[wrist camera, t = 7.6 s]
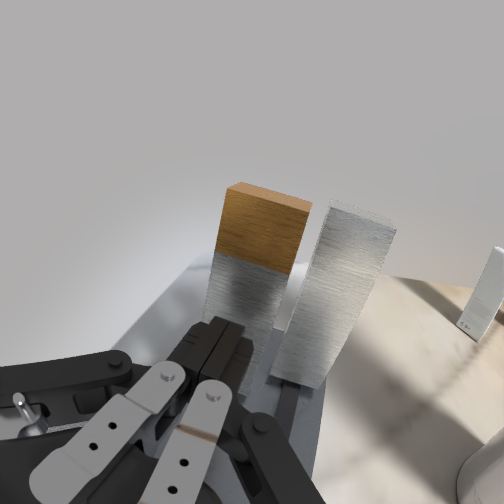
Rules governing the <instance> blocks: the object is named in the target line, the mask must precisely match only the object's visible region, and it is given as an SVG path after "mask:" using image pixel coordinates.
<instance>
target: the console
mask: <svg viewBox="0 0 504 504" xmlns="http://www.w3.org/2000/svg"><path fill="white" fill-rule="evenodd" d="M283 335H284V331H281V330H278V329H275V328H272V329H271V332H270V335H269V338H268V341H267V344H266V346H265V349H264V352H263V355H262V357H261V360H260V363H259V366H258V368H257V371H256V374H255V376H254V379H253V382H252V384H251V387H250V389H249V392H248V395H247V396H245V395H242V394H240V393H237V399H238V401H239V403H240V404H241V405H242V406H243V407H244V408H245V409H247V410H248V411H250V412H251V413H254V412H263V413H266V414H269V415H271V416H272V417H273V418H275V419H276V421H277V422H278V424H279V425H280V427H281V429H282V431H283V433H284V434H285V436H286V438H287V440H288V441H289V443H290V445H291V447H292V448H293V450H294V452H295V454H296V455H297V457H298V459H299V461H300V462H301V464H302V466H303V467H304V469H305V471H306V472H307V474H308V476H309V477H310V479H311V477H312V472H313V467H314V461H315V456H316V450H317V444H318V437H319V431H320V424H321V417H322V409H323V401H324V393H325V384H326V377H325V379H324V381H323V382H322V384H321V386H320V387H319V389H315V388H311V387H308V386H304V385H301V384H297V383H294V382H291V381H288V380H284V379H281V378H278V377H275V376H272V375H269V374H270V371H271V368H272V364H273V361H274V358H275V355H276V353H277V350H278V348H279V345H280V343H281V340H282V338H283ZM188 405H189V403H186V405H185V407H184V409H183V410H182V413H181V416H180V417H179V419H178V420H177V422H176V423H175V424H174V426H173V427H172V428H171V430H170V431H169V432H168V434H167V435H166V436H165V438H164V439H163V441H162V442H161V443H160V445H159V446H158V448H157V451H156V454H155V456H154V458H157V459H160V457H161V455H162V453H163V451H164V449H165V447H166V445H167V443H168V440H169V438H170V436H171V434H172V432H173V430H174V428H175V427H176V426H177V425H179V424H180V422H181V420H182V418H183V416H184V413H185V411H186V409H187V407H188ZM204 482H205V483H206V484H208V485H209V486H210V487H211V488H212V489H213V490H214V491H215V492H216V494H217V495H218V496H219V498H220V500H221V502H222V504H250V502H249V500H248V498H247V496H246V494H245V492H244V490H243V487H242V485H241V483H240V481H239V479H238V477H237V474H236V472H235V470H234V468H233V465H232V463H231V461H230V458H229V455H228V454H227V453H226V452H224V451H223V450H222V449H220V448H219V447H218V446H216V447H215V450H214V453H213V456H212V459H211V462H210V465H209V467H208V470H207V473H206V476H205V479H204Z"/></svg>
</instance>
